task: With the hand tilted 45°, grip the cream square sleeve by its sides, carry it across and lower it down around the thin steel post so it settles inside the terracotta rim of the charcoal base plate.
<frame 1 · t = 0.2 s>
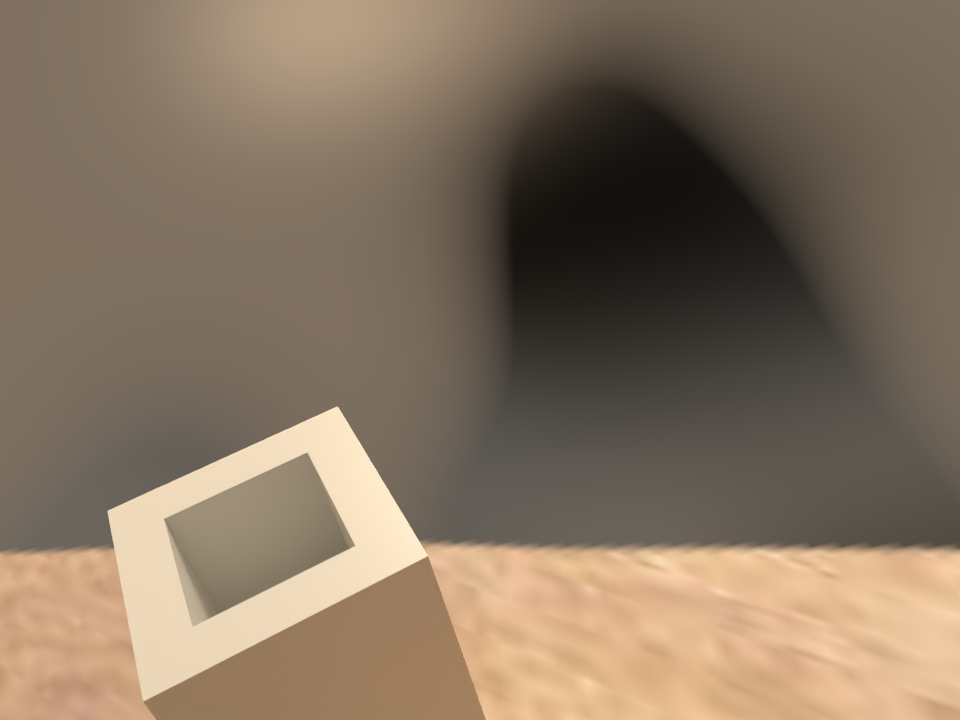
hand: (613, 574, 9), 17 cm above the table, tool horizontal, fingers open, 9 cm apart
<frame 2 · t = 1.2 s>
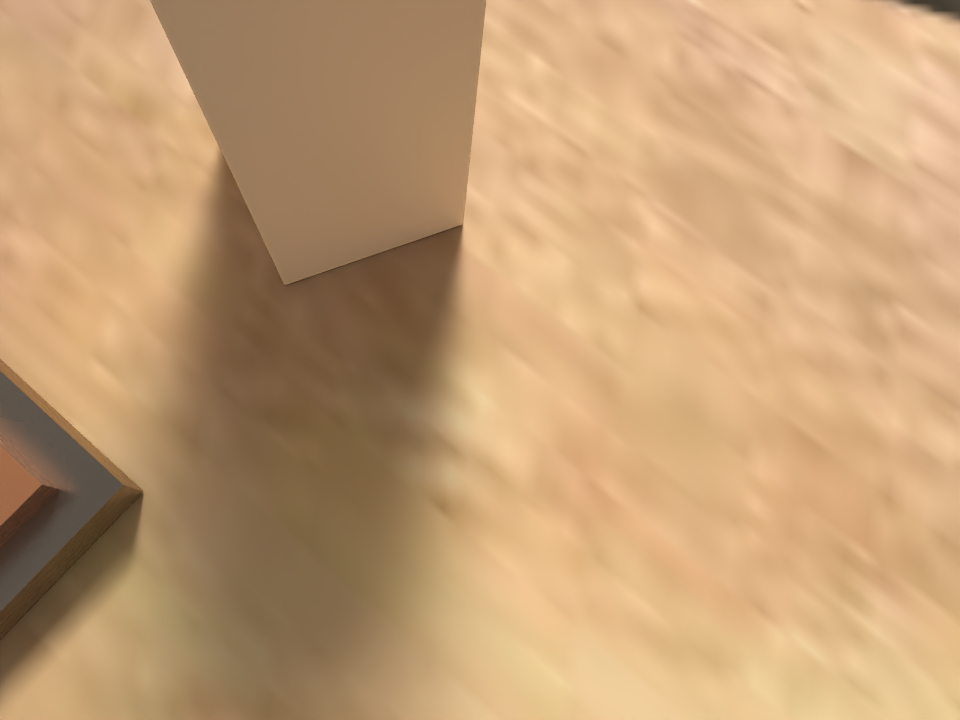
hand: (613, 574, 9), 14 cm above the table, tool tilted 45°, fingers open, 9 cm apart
sleeve: (343, 172, 25), on the table
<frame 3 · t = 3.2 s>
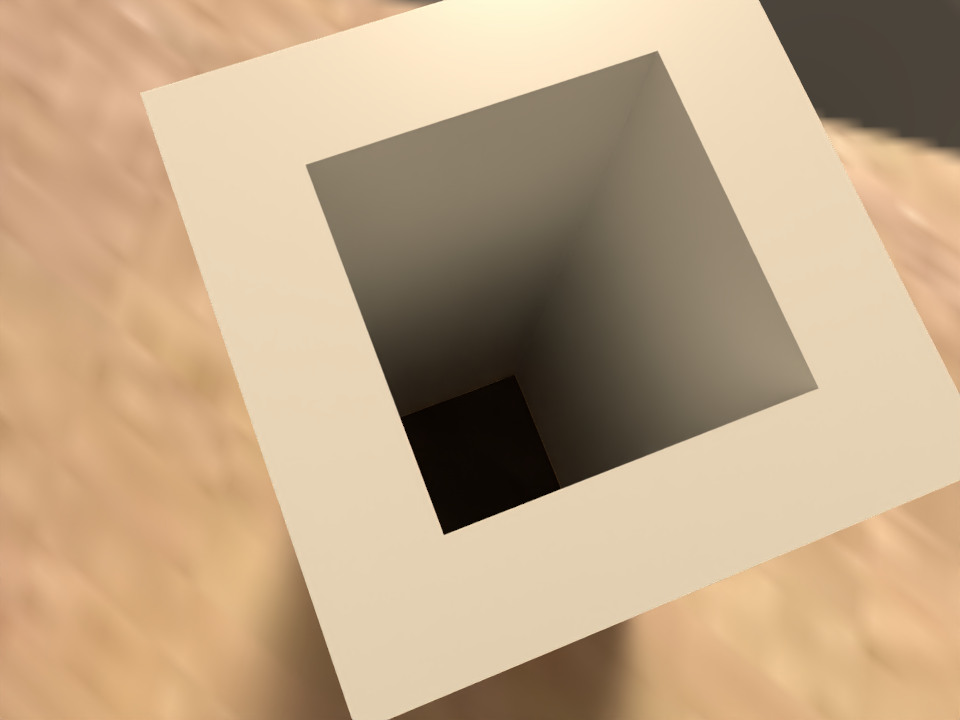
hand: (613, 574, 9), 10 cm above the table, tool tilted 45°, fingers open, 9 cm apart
sleeve: (474, 467, 19), on the table
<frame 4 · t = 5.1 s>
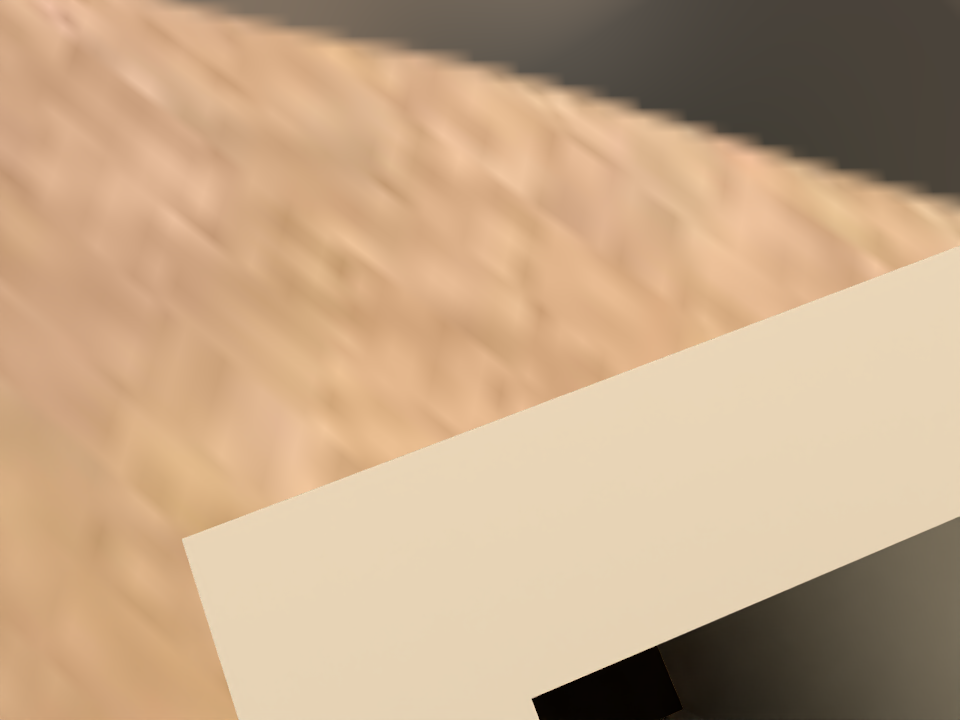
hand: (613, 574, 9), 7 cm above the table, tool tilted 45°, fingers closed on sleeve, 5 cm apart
sleeve: (563, 654, 15), on the table, touching gripper
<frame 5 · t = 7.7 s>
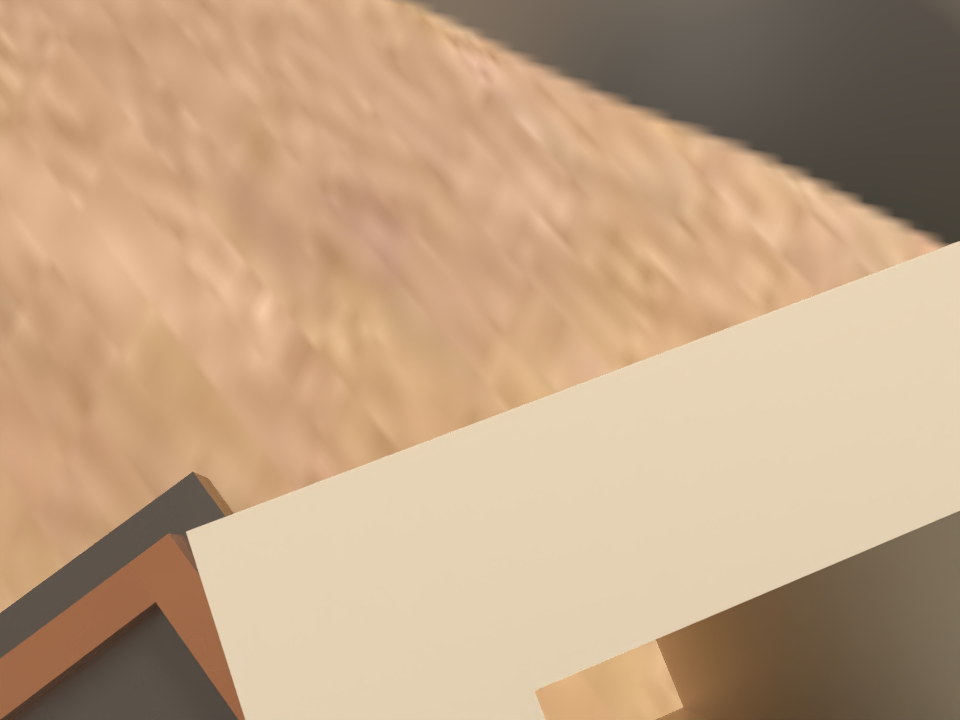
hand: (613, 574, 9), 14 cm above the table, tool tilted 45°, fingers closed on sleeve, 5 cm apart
sleeve: (564, 653, 15), point 7 cm above the table, touching gripper
when the fingers open (9 cm above the table, at t = 10.4 s): sleeve stays where it is, resting on seat plate.
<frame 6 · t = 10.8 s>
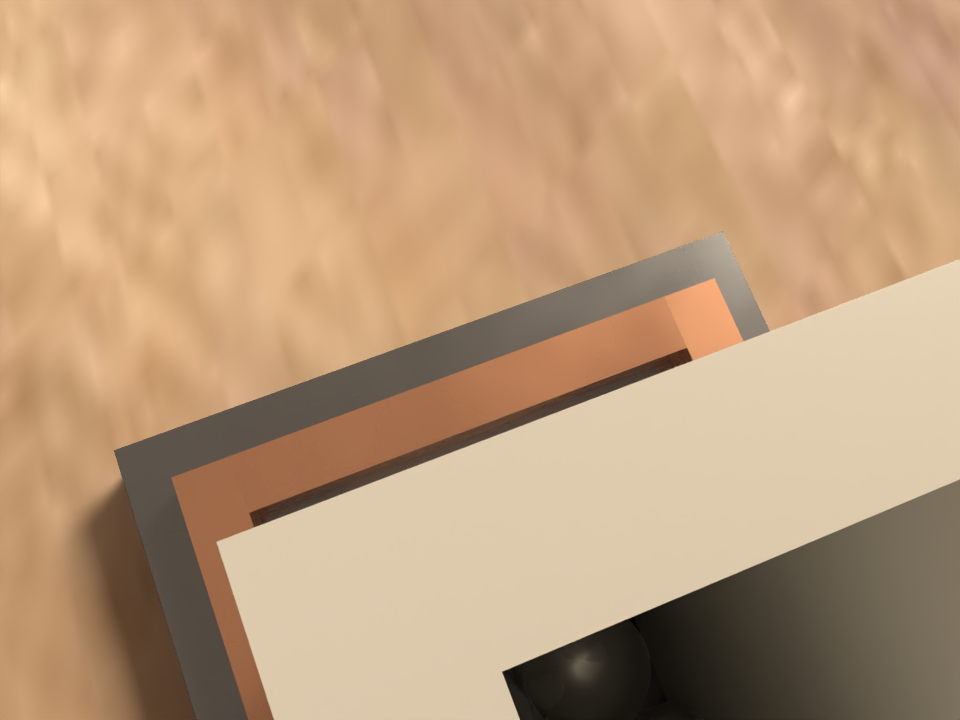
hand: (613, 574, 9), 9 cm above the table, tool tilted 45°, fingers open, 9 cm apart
seat plate: (545, 644, 17), on the table
sleeve: (554, 649, 16), point 1 cm above the table, touching seat plate
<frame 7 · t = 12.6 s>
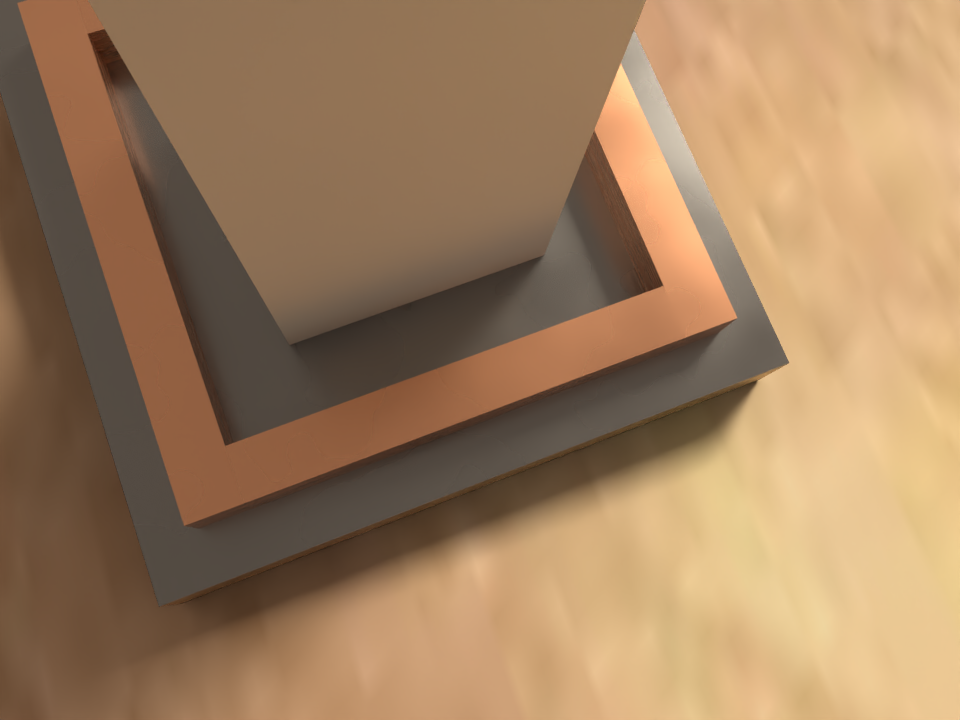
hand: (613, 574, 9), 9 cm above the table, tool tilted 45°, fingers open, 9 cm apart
seat plate: (378, 211, 19), on the table
sleeve: (373, 180, 17), point 1 cm above the table, touching seat plate
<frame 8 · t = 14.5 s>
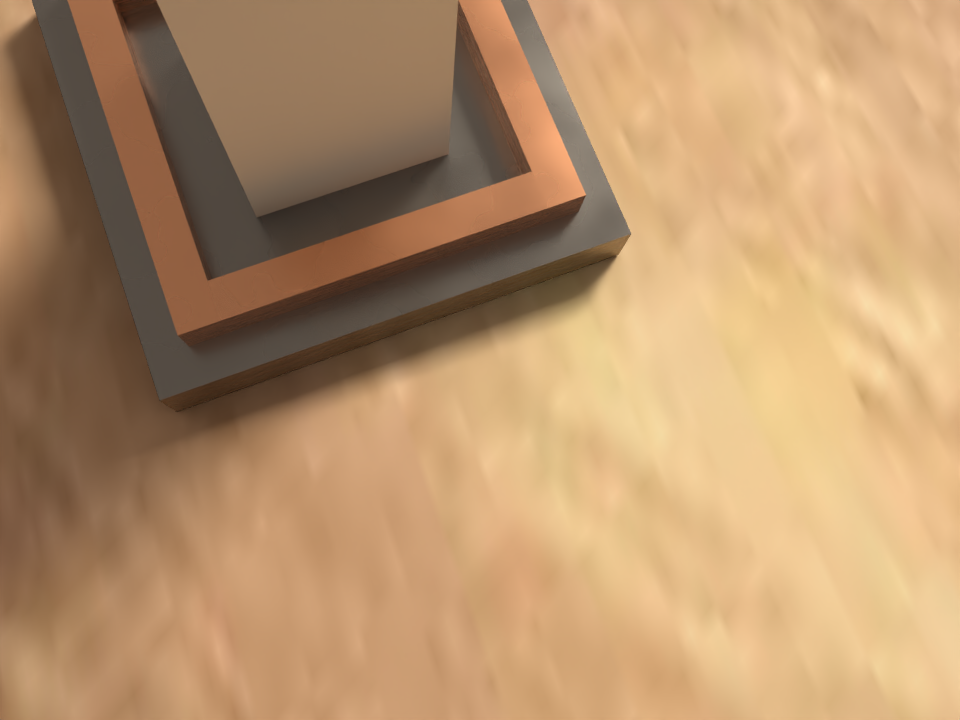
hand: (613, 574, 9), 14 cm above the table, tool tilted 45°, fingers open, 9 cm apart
seat plate: (328, 128, 24), on the table
sleeve: (320, 98, 23), point 1 cm above the table, touching seat plate
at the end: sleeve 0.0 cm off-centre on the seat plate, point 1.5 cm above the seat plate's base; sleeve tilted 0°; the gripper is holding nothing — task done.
